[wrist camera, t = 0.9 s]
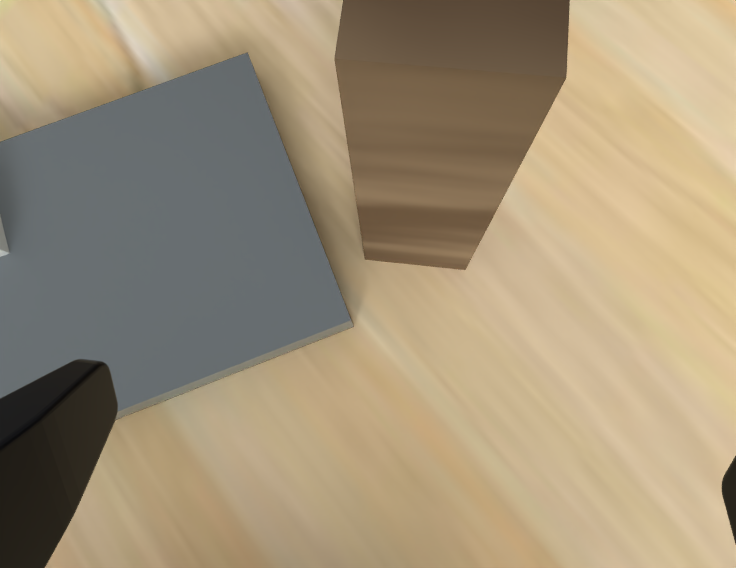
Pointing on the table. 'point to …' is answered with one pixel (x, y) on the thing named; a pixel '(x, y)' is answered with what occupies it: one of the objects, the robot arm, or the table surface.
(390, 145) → the walnut handle
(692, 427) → the table surface
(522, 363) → the table surface
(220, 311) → the slate board
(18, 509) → the robot arm
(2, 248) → the tile on board
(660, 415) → the table surface
